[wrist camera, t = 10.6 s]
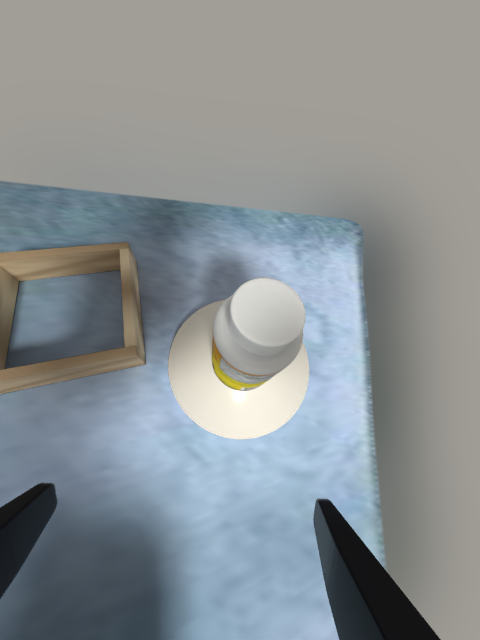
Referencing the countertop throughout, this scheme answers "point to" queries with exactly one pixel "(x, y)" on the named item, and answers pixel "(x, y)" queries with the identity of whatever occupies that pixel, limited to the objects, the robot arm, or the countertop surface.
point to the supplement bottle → (256, 333)
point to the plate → (221, 401)
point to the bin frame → (12, 267)
